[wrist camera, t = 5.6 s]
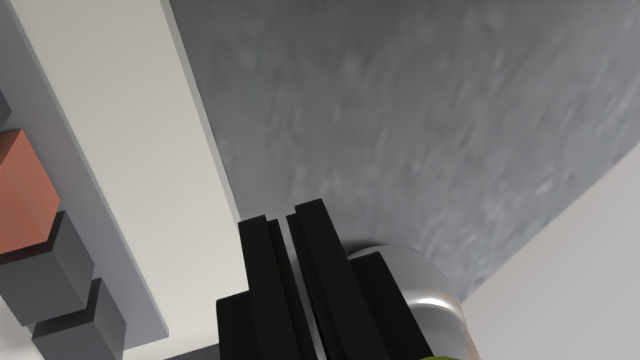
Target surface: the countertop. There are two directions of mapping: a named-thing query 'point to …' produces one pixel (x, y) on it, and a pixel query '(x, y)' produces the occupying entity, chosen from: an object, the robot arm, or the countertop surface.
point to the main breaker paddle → (23, 194)
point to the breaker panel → (114, 186)
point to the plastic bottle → (425, 302)
